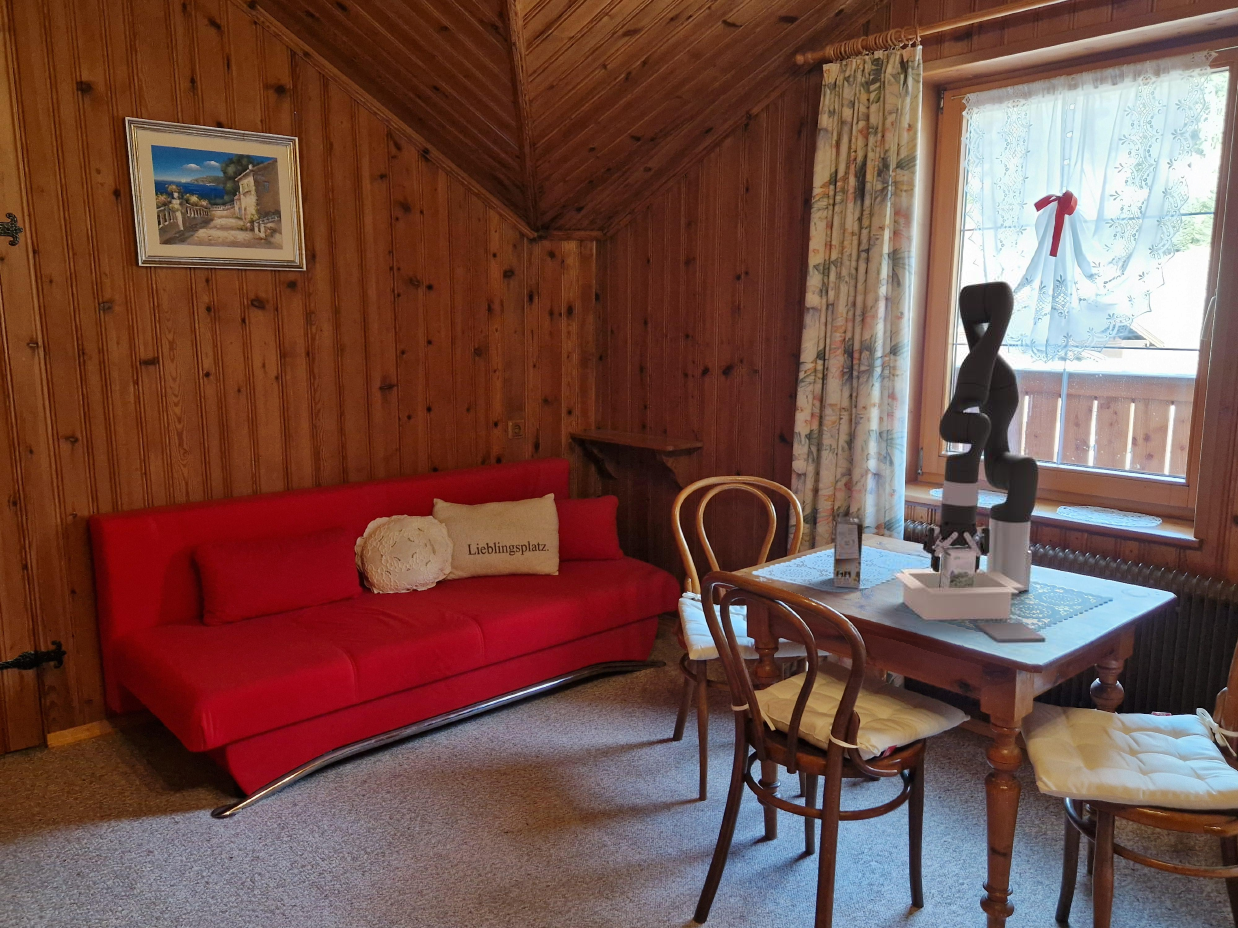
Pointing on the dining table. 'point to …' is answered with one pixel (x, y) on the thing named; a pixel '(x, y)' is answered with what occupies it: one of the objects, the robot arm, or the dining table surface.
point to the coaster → (1010, 632)
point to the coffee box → (847, 551)
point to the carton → (957, 596)
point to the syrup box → (957, 567)
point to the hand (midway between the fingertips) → (954, 571)
